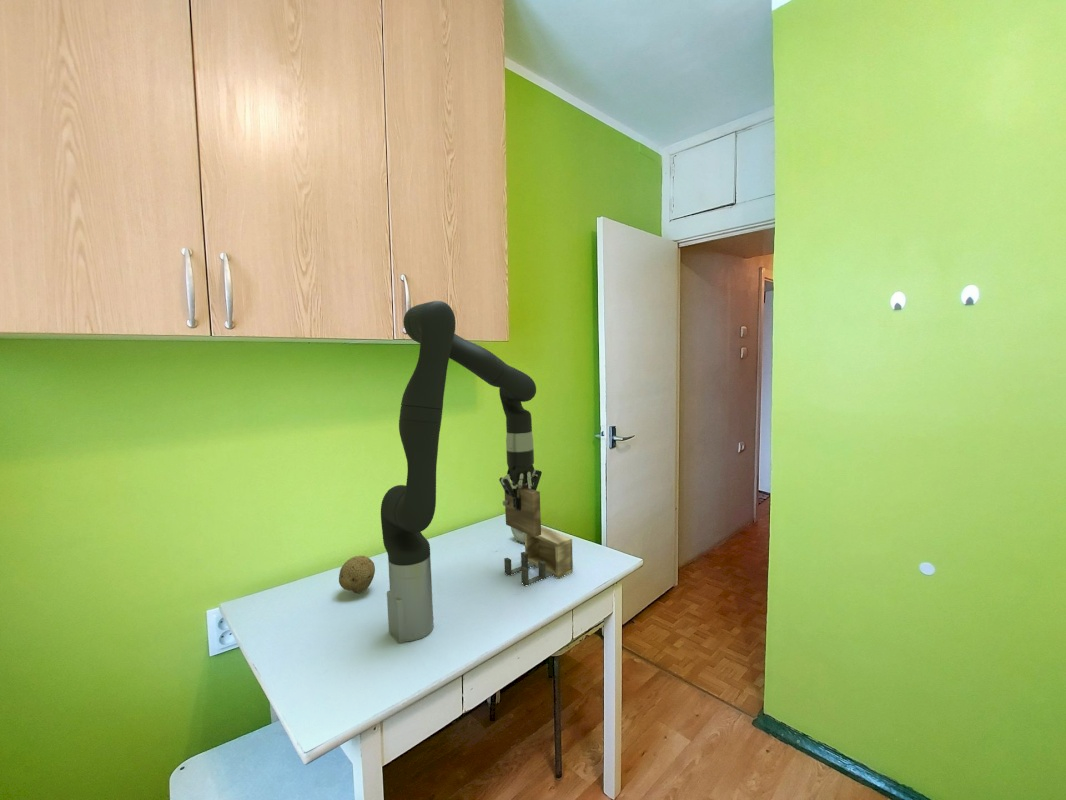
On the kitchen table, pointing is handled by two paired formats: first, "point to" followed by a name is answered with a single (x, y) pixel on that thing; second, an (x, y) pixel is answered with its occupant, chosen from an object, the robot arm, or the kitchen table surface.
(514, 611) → the kitchen table surface
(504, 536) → the kitchen table surface
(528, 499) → the door
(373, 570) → the brown potato
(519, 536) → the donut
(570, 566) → the cabinet
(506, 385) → the robot arm
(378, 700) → the kitchen table surface
